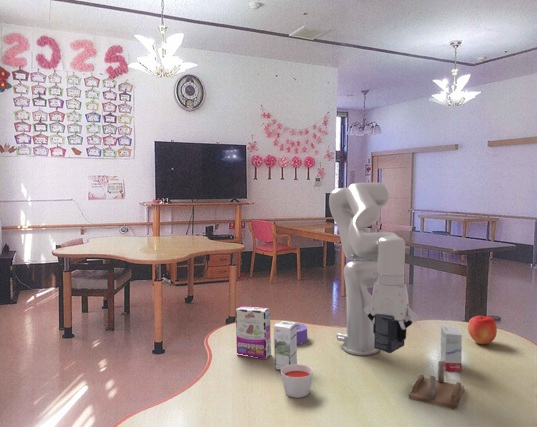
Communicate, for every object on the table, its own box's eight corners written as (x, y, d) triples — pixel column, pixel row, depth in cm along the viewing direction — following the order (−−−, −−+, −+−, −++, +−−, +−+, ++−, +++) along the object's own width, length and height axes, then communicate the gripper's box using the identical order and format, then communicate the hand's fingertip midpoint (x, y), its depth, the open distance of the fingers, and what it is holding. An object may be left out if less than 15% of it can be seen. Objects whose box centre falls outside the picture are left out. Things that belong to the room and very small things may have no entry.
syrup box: (297, 365, 144) (297, 321, 143) (290, 373, 139) (290, 327, 138) (281, 363, 147) (280, 319, 146) (274, 370, 141) (273, 325, 141)
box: (387, 340, 136) (388, 307, 135) (404, 346, 132) (405, 311, 131) (373, 348, 131) (374, 313, 130) (390, 354, 127) (391, 318, 126)
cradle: (408, 398, 122) (408, 373, 121) (420, 380, 133) (420, 357, 132) (456, 409, 115) (456, 382, 115) (463, 389, 126) (464, 365, 126)
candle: (304, 403, 120) (303, 380, 120) (275, 395, 125) (274, 373, 124) (318, 389, 128) (318, 368, 127) (290, 382, 132) (290, 361, 132)
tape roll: (278, 334, 176) (278, 321, 175) (308, 335, 174) (307, 322, 174) (274, 344, 164) (274, 331, 164) (306, 346, 162) (306, 332, 162)
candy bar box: (271, 354, 154) (270, 307, 153) (266, 359, 150) (265, 311, 149) (242, 350, 159) (241, 305, 158) (236, 355, 154) (235, 308, 153)
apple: (498, 341, 163) (498, 314, 163) (495, 349, 155) (495, 321, 155) (469, 337, 168) (469, 311, 168) (465, 344, 160) (465, 317, 160)
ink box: (461, 372, 137) (462, 335, 137) (445, 371, 138) (445, 334, 138) (456, 361, 146) (456, 326, 145) (440, 360, 147) (440, 325, 146)
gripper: (357, 278, 131) (356, 337, 133) (418, 286, 122) (416, 349, 124) (366, 272, 137) (365, 329, 139) (424, 280, 128) (422, 340, 130)
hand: (389, 338), depth 131 cm, fingers closed on box, 6 cm apart
